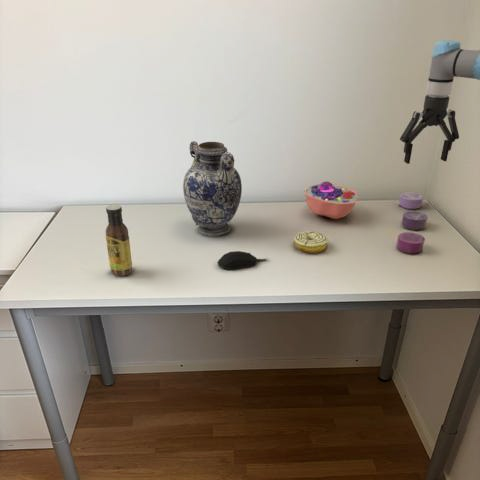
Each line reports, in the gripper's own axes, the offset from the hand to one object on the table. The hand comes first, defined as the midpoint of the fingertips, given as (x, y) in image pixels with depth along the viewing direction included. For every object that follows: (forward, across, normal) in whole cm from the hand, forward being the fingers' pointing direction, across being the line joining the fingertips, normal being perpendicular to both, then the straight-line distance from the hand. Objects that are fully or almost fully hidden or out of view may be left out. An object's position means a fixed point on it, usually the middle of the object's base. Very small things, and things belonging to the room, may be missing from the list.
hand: (425, 161), depth 177 cm
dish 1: (+17, +1, -3) cm, 18 cm away
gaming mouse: (+17, +70, +30) cm, 78 cm away
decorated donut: (+17, +47, +23) cm, 55 cm away
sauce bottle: (+17, +105, +30) cm, 110 cm away
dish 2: (+18, +17, +30) cm, 39 cm away
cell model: (+17, +33, 0) cm, 37 cm away
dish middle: (+17, +8, +14) cm, 24 cm away
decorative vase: (+17, +75, +5) cm, 77 cm away
